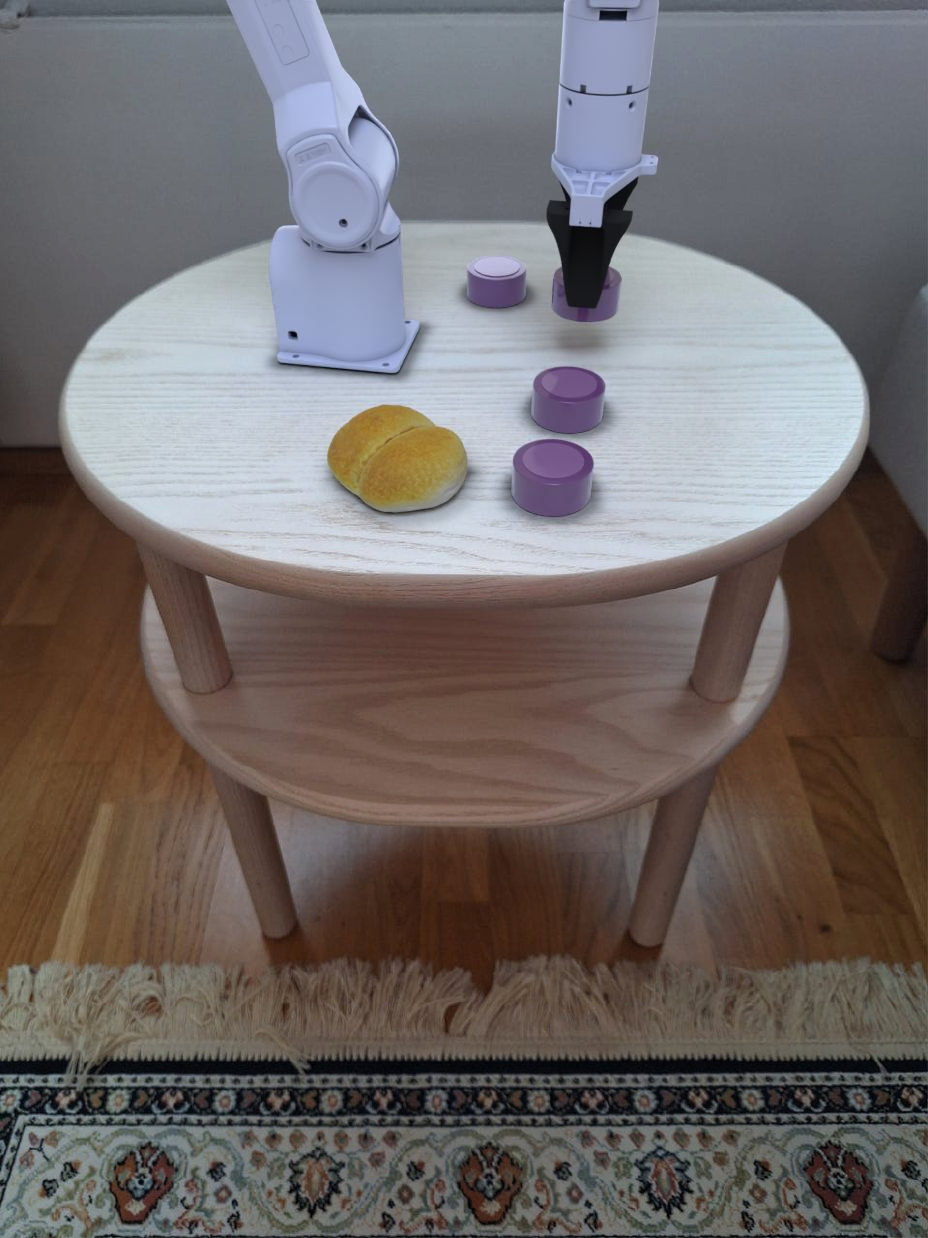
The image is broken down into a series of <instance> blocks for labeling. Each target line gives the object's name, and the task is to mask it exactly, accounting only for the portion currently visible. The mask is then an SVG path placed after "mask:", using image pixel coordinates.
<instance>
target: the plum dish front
mask: <svg viewBox="0 0 928 1238" xmlns="http://www.w3.org/2000/svg"><path fill="white" fill-rule="evenodd" d="M511 465H512V468H511V469H512V470H511V492H510V493H511V496H512V498H513V500H514V502H515V503H516V504H517V505H518V506H519V507H520V508H521V509H523V510H525V511H527V512H529V513H532V514H535V515H539V516H544V517H563V516H568V515H571V514H575V513H577V512H579V511H580V510H582V509H583V508H585V507H586V506H587V505H588V503H589V501H590V500H591V495H592V494H591V493H592V485H593V478H594V477H593V476H594V469H595V468H594V467H595V462H594V457H593V456H592V455H591V453H590V452H589V451H588V450H587V449H586V448H584V447H583V446H581V445H579V443H578V444H577V443H575V442H572V441H568V440H565V439H559V438H544V439H543V438H542V439H536V440H532V441H530V442H527V443H525V444H523V445H521V447H519V448H518V449H517V450H516V451H515V452H514V454H513V456H512V464H511Z"/></svg>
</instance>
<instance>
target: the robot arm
mask: <svg viewBox="0 0 928 1238" xmlns="http://www.w3.org/2000/svg"><path fill="white" fill-rule="evenodd" d="M225 2H226V3H227V6H228V8H229V10H230V12H231V14H232V17H233V19H234V22H235V24H236V26H237V28H238V31H239V32H240V33H239V34H240V35H241V37H242V39H243V42H244V44H245V46H246V48H247V51H248V53H249V55H250V57H251V59H252V61H253V64H254V66H255V68H256V70H257V72H258V75H259V77H260V79H261V81H262V83H263V86H264V88H265V90H266V93H267V95H268V97H269V99H270V102H271V104H272V109H273V117H274V128H275V140H276V148H277V151H278V154H279V156H280V158H281V160H282V163H283V165H284V167H285V171H286V175H287V180H288V204H289V209H290V212H291V215H292V217H293V219H294V221H295V223H296V224H294V225H293V224H292V225H289V224H288V225H281V226H280V227H278V228H277V230H276V231H275V232H274V235H273V238H272V240H271V243H270V247H269V248H270V249H269V256H268V277H269V278H268V279H269V286H270V292H271V293H270V294H271V300H272V307H273V313H274V320H275V327H276V334H277V340H278V341H277V342H278V349H279V351H278V353H277V355H276V359H277V362H279V363H281V364H282V363H283V364H293V365H302V366H303V365H304V366H314V367H322V368H323V367H324V368H333V369H334V368H335V369H336V368H337V369H345V370H354V371H355V370H356V371H366V372H377V373H389V374H395V373H397V372H399V371H400V370H401V367H402V365H403V364H404V361H405V358H406V356H407V355H408V353H409V350H410V348H411V346H412V344H413V342H414V340H415V338H416V336H417V334H418V332H419V330H420V323H421V322H420V321H418V320H416V319H406V318H405V297H404V296H405V295H404V292H405V291H404V273H403V254H402V251H403V250H402V232H401V220H400V218H399V217H398V215H397V214H396V212H395V210H394V209H393V208H392V206H391V203H390V201H389V200H388V196H389V193H390V191H391V189H392V187H393V185H394V184H395V182H396V180H397V176H398V173H399V167H400V156H399V150H398V147H397V145H396V141H395V139H394V137H393V136H392V133H391V132H390V131H389V130H388V128H387V127H386V126H385V125H384V124H383V123H382V122H381V121H380V119H378V118H377V117H376V116H375V115H374V114H373V113H372V112H371V109H370V108H369V107H368V105H367V103H366V101H365V98H364V96H363V93H362V91H361V88H360V87H359V85H358V84H357V82H356V81H355V80H354V79H353V78H352V77H351V76H350V74H349V73H348V72H347V71H346V69H344V67H343V65H342V64H341V61H340V59H339V55H338V53H337V50H336V49H335V46H334V44H333V41H332V38H331V36H330V34H329V31H328V28H327V26H326V23H325V21H324V17H323V15H322V13H321V10H320V8H319V5H318V3H317V0H225ZM659 7H660V0H564V1H563V14H562V16H563V17H562V35H561V48H560V49H561V50H560V66H559V82H558V96H557V97H558V98H557V115H556V131H555V147H554V151H553V152H552V154H551V165H550V166H551V170H552V172H553V173H554V175H555V176H556V178H557V179H558V182H559V184H560V187H561V191H562V193H563V195H564V199H565V200H557V199H550V200H549V201H548V203H547V207H546V212H545V214H546V215H545V217H546V223H547V225H548V227H549V230H550V231H551V233H552V235H553V238H554V240H555V243H556V247H557V250H558V254H559V259H560V263H561V266H562V272H563V281H564V290H565V296H566V301H567V305H568V306H569V307H578V308H590V309H595V308H596V307H597V305H598V302H599V300H600V297H601V294H602V290H603V287H604V283H605V279H606V275H607V272H608V268H609V266H610V264H611V261H612V259H613V256H614V254H615V251H616V250H617V248H618V245H619V243H620V242H621V240H622V239H623V236H624V235H625V233H627V231H628V229H629V227H630V225H631V223H632V221H633V214H634V211H633V210H626V209H625V207H626V204H627V203H628V200H629V199H630V197H631V196H632V193H633V192H634V190H635V189H636V187H637V185H638V182H639V177H640V176H655V175H656V174H657V171H658V164H659V157H658V156H657V155H654V154H644V153H642V149H643V142H644V134H645V125H646V117H647V116H646V115H647V107H648V99H649V92H650V91H649V90H650V84H651V76H652V75H651V74H652V66H653V60H654V59H653V57H654V51H655V50H654V49H655V41H656V32H657V24H658V15H659Z"/></svg>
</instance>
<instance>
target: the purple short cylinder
mask: <svg viewBox="0 0 928 1238" xmlns="http://www.w3.org/2000/svg"><path fill="white" fill-rule="evenodd" d="M527 272H528V267H527V265H526V263H525V262H523V261H522V260H520V259H518V258H516V257H512V256H508V255H495V254H494V255H486V256H481V257H477V258H474V259H472V260H470V262H468V264H467V266H466V297H467V298H468V300H469V301H470V302H471V303H473V304H475V305H478V306H481V307H486V308H494V309H497V308H498V309H500V308H508V307H513V306H515V305H518V304H520V303H522V302H523V301H524V299H525V298H526V295H527V275H528V273H527Z"/></svg>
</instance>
